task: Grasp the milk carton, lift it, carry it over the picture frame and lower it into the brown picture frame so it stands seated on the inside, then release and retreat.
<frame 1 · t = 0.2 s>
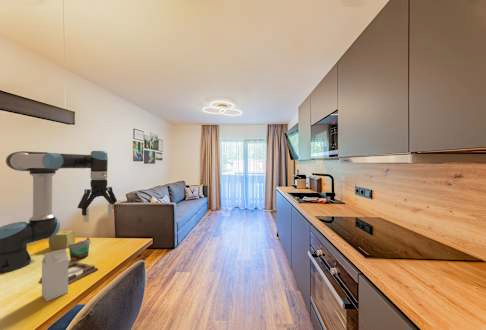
hand: (98, 218, 111), 28 cm above the table, fingers open, 13 cm apart
brown picture frame: (70, 275, 105), on the table
food container: (82, 258, 125), on the table
milk carton: (55, 294, 89), on the table
cheese: (62, 246, 142), on the table
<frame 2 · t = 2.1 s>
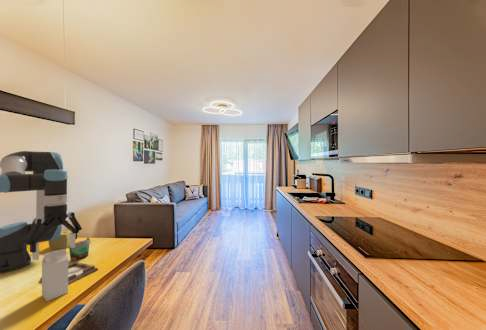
hand: (55, 253, 89), 18 cm above the table, fingers open, 13 cm apart
nothing on the table moved.
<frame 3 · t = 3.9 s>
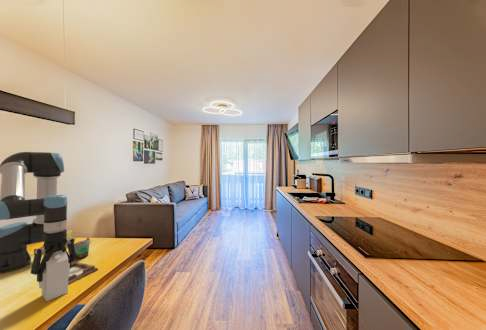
hand: (55, 282, 89), 5 cm above the table, fingers closed on milk carton, 8 cm apart
milk carton: (55, 294, 89), on the table, touching gripper
everything else where it was.
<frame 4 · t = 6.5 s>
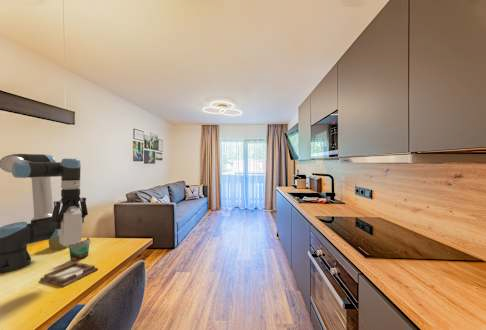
hand: (70, 232, 105), 22 cm above the table, fingers closed on milk carton, 8 cm apart
milk carton: (70, 243, 105), point 17 cm above the table, touching gripper
everything else where it was.
when the fingers open (7 cm above the table, at t = 9.3 s): milk carton stays where it is, resting on brown picture frame.
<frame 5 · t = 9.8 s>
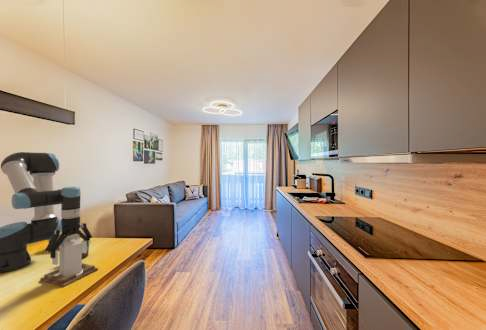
hand: (70, 258, 105), 9 cm above the table, fingers open, 13 cm apart
milk carton: (70, 273, 105), point 1 cm above the table, touching brown picture frame
everything else where it was.
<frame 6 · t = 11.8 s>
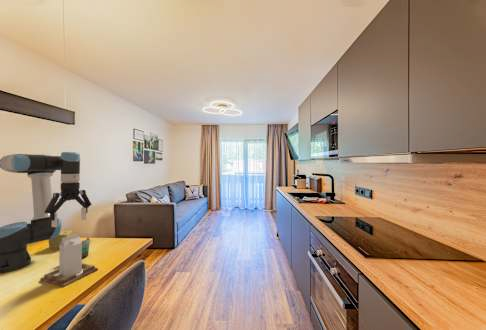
hand: (69, 223, 105), 27 cm above the table, fingers open, 13 cm apart
nothing on the table moved.
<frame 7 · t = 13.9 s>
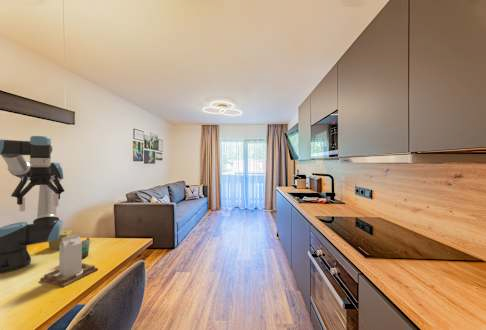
hand: (40, 208, 103), 35 cm above the table, fingers open, 13 cm apart
nothing on the table moved.
at the end: milk carton 0.0 cm from the brown picture frame (horizontally); milk carton touching brown picture frame; milk carton tilted 0° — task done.
